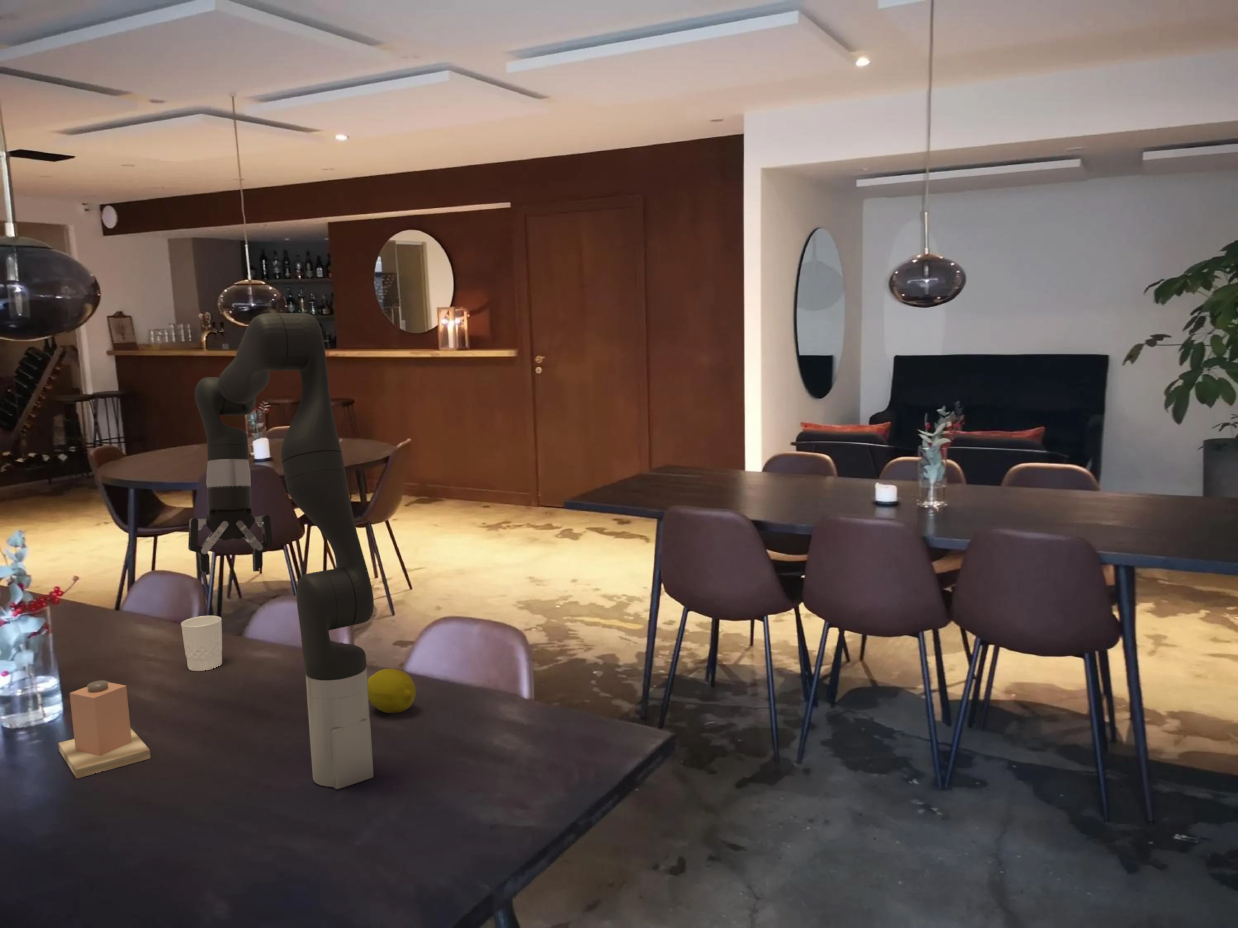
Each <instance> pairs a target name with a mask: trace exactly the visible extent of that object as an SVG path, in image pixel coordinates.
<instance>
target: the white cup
mask: <svg viewBox="0 0 1238 928" xmlns="http://www.w3.org/2000/svg"><path fill="white" fill-rule="evenodd" d="M222 625H223V624H222V617H221V616H218V615H200V616H195V617H190V618H188V619H185V620H183V621H182V622H180V627H181V632H182V639H183V640H182V641H183V646H184V647H183V648H184V654H185V657H186V663H187V664H186V665H187V668H188V670H189V671H192V672H204V671H205V670H206V671H209V670H213V668H214V669H216V667H217V668H218V666H219V667H220V666H221V665H222V664H223V654H222V652H223V632H222V631H223V628H222Z"/></svg>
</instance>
